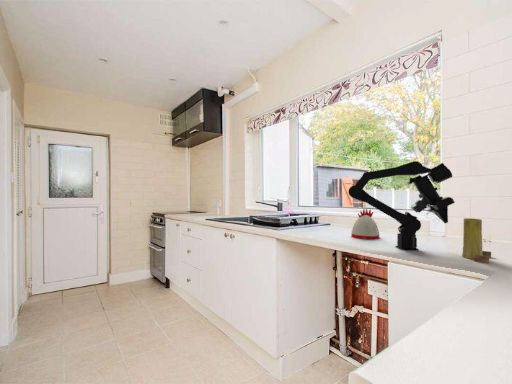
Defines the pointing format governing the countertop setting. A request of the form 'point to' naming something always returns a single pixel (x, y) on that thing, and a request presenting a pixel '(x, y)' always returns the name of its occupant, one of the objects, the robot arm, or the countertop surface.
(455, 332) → the countertop surface
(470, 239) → the vase
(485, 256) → the wooden blocks
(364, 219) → the grey red beanie hat
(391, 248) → the countertop surface
